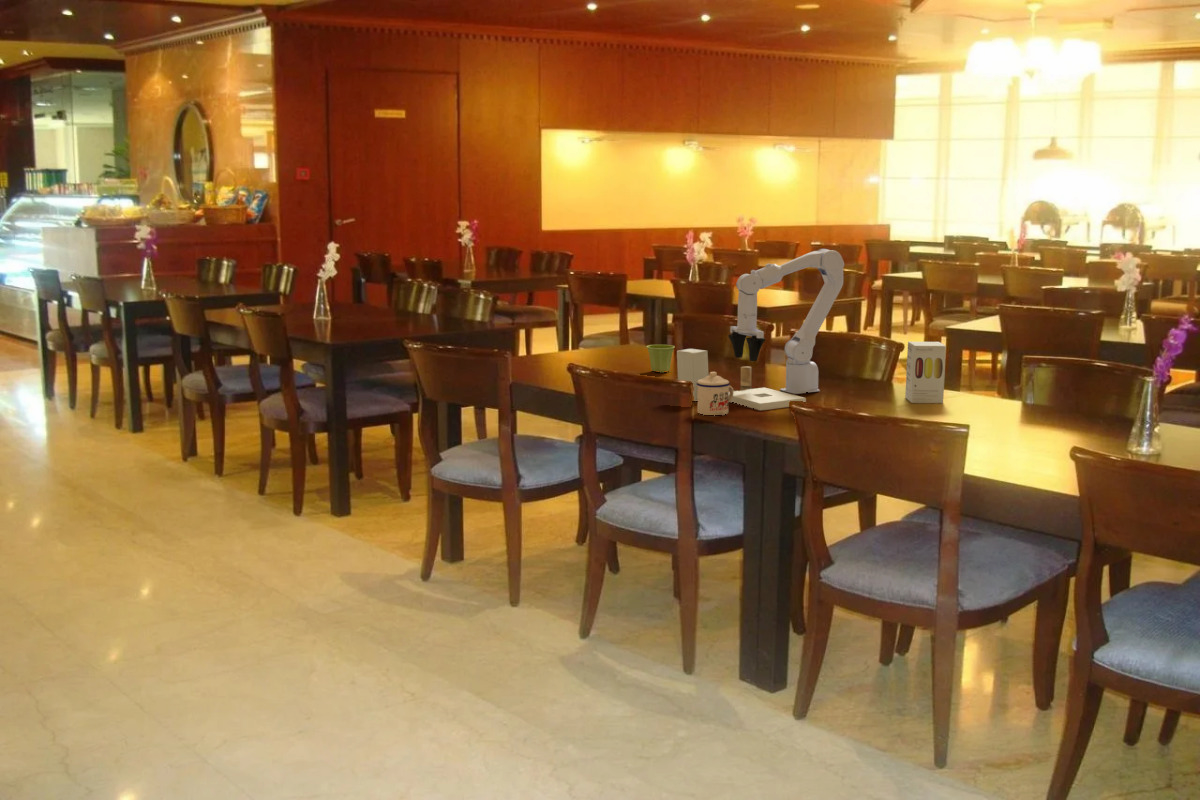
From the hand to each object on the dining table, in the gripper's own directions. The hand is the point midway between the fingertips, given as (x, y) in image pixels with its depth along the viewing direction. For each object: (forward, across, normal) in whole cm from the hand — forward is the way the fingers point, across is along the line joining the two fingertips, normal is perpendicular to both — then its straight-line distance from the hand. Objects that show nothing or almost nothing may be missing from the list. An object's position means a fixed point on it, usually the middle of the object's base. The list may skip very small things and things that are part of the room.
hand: (746, 359), depth 364 cm
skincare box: (+11, 0, -19) cm, 22 cm away
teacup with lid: (+11, +20, -24) cm, 33 cm away
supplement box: (+10, +37, +37) cm, 53 cm away
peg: (+10, 0, 0) cm, 11 cm away
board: (+10, +14, -4) cm, 18 cm away
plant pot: (+11, -48, -1) cm, 49 cm away
